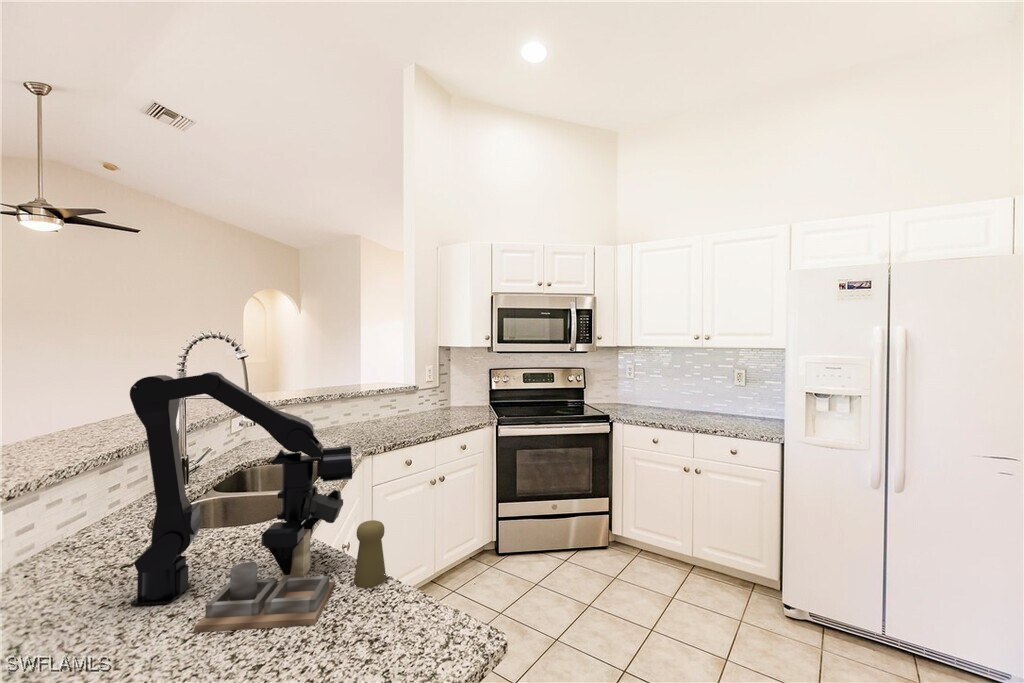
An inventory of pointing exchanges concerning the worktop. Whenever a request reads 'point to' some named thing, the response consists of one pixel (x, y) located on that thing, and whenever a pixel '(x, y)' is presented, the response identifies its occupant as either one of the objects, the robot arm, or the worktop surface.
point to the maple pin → (301, 557)
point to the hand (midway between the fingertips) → (296, 563)
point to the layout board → (265, 601)
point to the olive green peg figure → (370, 555)
